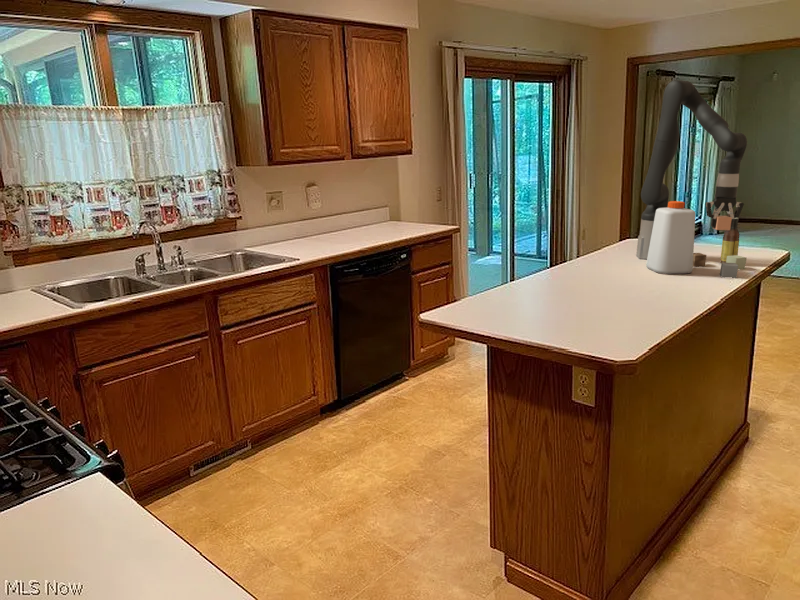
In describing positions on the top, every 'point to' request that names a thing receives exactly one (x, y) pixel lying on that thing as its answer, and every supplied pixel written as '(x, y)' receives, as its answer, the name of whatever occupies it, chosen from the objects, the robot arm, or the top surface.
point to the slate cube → (729, 270)
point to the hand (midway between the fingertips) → (721, 227)
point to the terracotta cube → (723, 223)
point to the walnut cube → (699, 259)
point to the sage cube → (737, 261)
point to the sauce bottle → (730, 241)
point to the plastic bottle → (672, 240)
